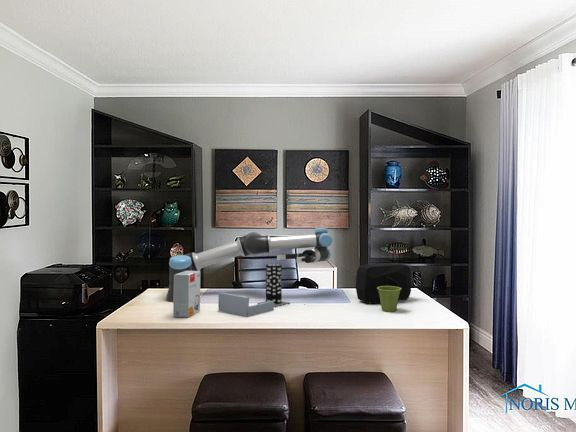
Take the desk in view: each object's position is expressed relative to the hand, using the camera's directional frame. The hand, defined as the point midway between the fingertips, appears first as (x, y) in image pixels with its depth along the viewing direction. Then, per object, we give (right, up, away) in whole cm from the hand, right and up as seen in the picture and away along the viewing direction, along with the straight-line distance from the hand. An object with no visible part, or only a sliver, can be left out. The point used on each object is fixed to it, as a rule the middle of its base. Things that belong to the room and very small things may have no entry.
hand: (287, 258), depth 273 cm
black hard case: (+53, -23, +1) cm, 58 cm away
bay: (-20, -24, -23) cm, 38 cm away
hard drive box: (-48, -24, -30) cm, 61 cm away
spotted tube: (-7, -23, -7) cm, 25 cm away
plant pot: (+51, -24, -21) cm, 60 cm away
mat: (-7, -23, -7) cm, 25 cm away
